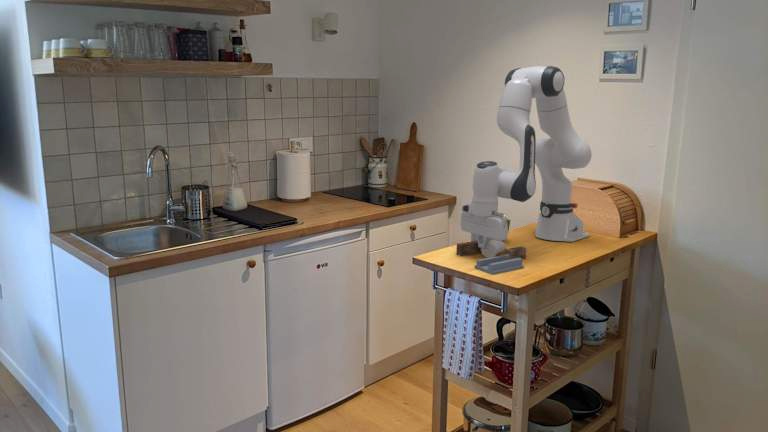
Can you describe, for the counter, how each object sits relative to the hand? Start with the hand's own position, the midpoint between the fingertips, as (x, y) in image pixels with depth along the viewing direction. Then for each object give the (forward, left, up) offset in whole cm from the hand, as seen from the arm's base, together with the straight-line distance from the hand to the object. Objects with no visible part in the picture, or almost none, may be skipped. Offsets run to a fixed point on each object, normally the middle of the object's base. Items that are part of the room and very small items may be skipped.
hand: (482, 248), depth 213 cm
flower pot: (-21, -16, -4) cm, 27 cm away
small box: (-11, -14, -4) cm, 18 cm away
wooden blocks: (-3, -7, -4) cm, 9 cm away
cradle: (+4, +12, -4) cm, 13 cm away
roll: (-8, -2, -4) cm, 9 cm away
